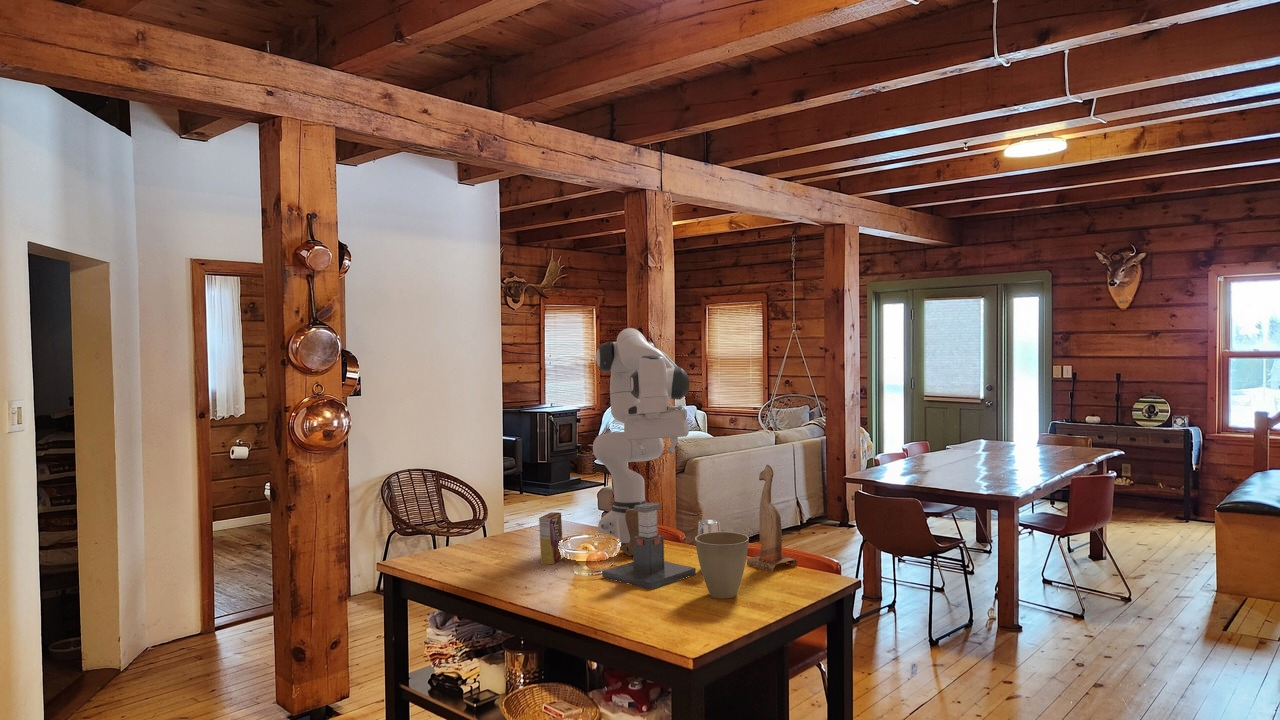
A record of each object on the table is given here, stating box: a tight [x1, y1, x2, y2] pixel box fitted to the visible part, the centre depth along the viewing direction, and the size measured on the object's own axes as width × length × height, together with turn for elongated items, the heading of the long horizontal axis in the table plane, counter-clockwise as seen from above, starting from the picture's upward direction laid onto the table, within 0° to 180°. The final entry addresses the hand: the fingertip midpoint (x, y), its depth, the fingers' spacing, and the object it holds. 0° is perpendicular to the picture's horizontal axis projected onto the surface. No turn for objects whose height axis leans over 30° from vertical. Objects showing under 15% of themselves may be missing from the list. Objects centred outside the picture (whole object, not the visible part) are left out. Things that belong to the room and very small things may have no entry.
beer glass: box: [697, 518, 722, 571], centre depth 254 cm, size 7×7×15 cm
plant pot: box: [694, 531, 750, 600], centre depth 227 cm, size 15×15×16 cm
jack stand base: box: [601, 534, 697, 591], centre depth 248 cm, size 20×20×12 cm
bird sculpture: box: [746, 464, 798, 573], centre depth 257 cm, size 11×12×32 cm
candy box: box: [538, 511, 563, 565], centre depth 269 cm, size 9×4×15 cm, turn 160°
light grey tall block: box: [634, 502, 662, 539], centre depth 248 cm, size 4×7×19 cm, turn 136°
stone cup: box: [620, 509, 639, 556], centre depth 279 cm, size 15×12×15 cm
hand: (657, 454), depth 245 cm, fingers open, 8 cm apart
